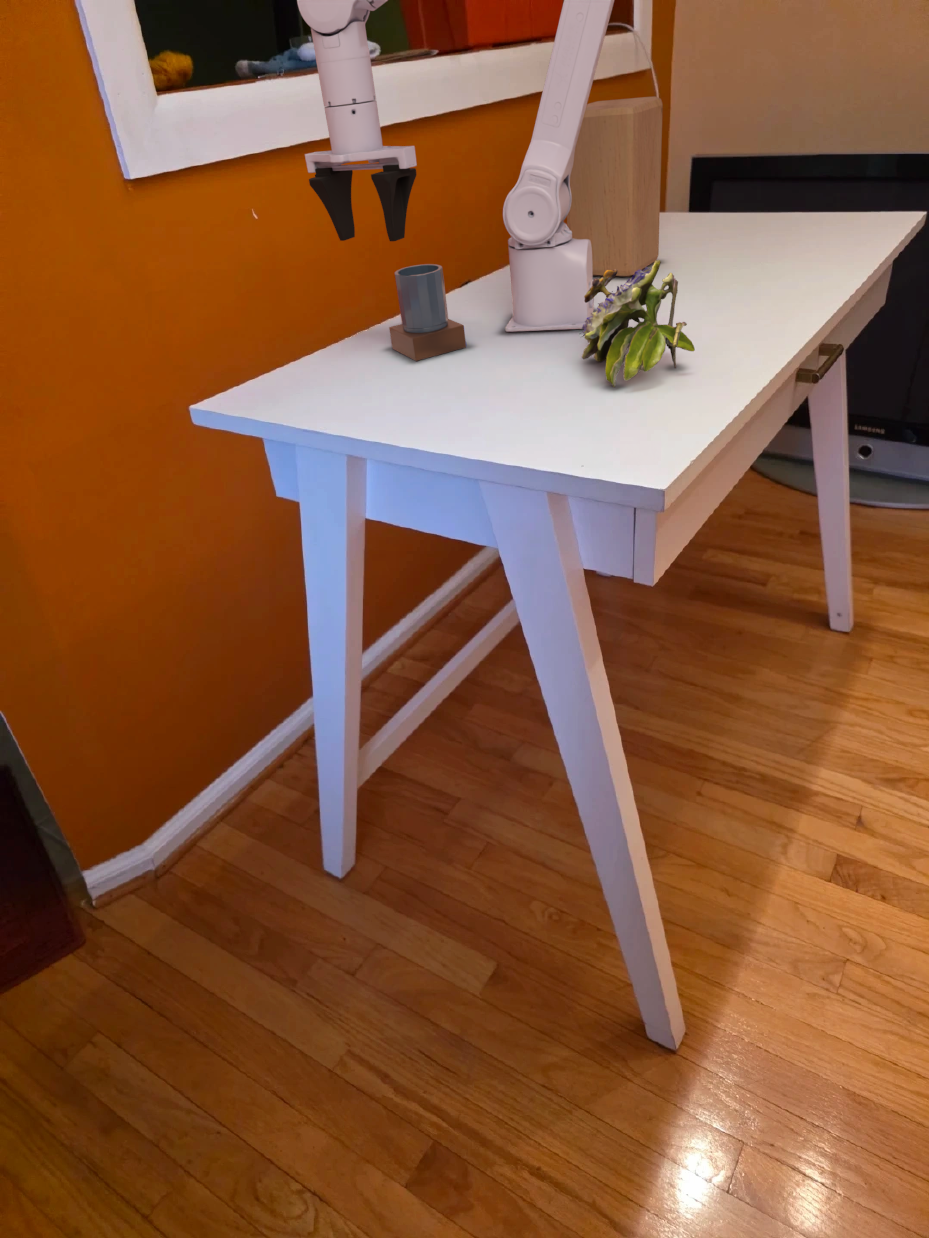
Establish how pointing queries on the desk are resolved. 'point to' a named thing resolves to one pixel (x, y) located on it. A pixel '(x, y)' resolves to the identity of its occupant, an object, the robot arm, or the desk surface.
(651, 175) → the wooden block
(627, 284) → the passion flower
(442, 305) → the cup
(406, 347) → the block
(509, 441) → the desk surface
